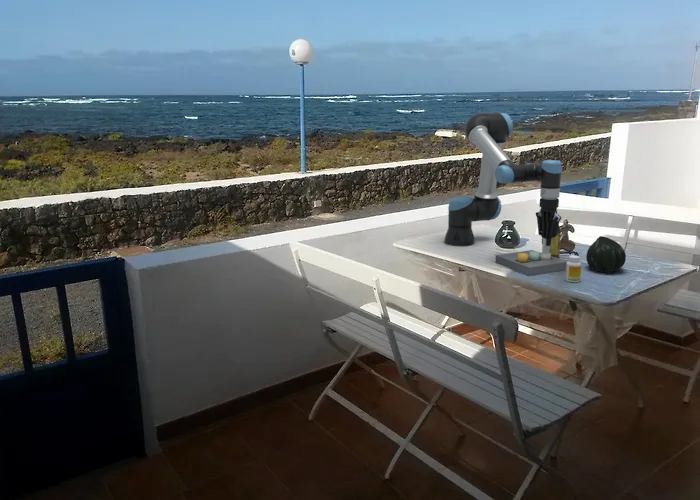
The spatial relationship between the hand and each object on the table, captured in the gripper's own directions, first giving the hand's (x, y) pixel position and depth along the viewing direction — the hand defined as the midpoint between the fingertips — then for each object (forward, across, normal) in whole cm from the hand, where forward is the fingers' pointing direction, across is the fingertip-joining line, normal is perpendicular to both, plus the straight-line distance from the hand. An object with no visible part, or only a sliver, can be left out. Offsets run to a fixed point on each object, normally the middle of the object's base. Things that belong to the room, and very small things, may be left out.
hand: (545, 252), depth 226 cm
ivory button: (+4, 0, 0) cm, 4 cm away
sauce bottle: (+6, -9, +12) cm, 16 cm away
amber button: (+3, 0, -12) cm, 12 cm away
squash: (+6, +16, +17) cm, 24 cm away
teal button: (+3, 0, -6) cm, 7 cm away
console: (+6, -2, -6) cm, 9 cm away
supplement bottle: (+6, +21, -5) cm, 22 cm away
